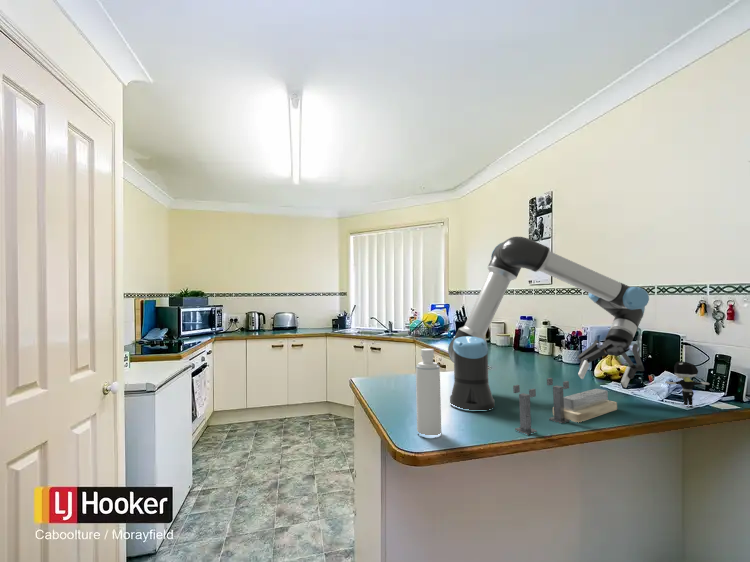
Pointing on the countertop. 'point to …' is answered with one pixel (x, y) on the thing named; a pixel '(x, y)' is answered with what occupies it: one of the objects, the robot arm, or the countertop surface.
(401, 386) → the countertop surface
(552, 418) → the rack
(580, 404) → the rail
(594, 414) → the board
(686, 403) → the toy
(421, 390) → the grey bottle
